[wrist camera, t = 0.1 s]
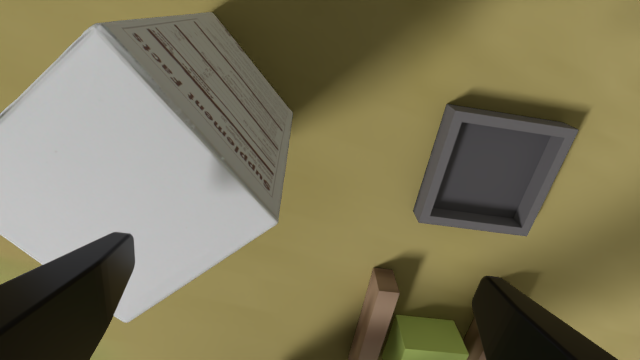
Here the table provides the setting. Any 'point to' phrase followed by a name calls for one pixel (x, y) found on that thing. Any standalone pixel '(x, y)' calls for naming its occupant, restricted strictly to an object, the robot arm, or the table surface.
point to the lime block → (424, 340)
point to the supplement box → (145, 151)
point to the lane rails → (379, 315)
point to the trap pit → (491, 170)
